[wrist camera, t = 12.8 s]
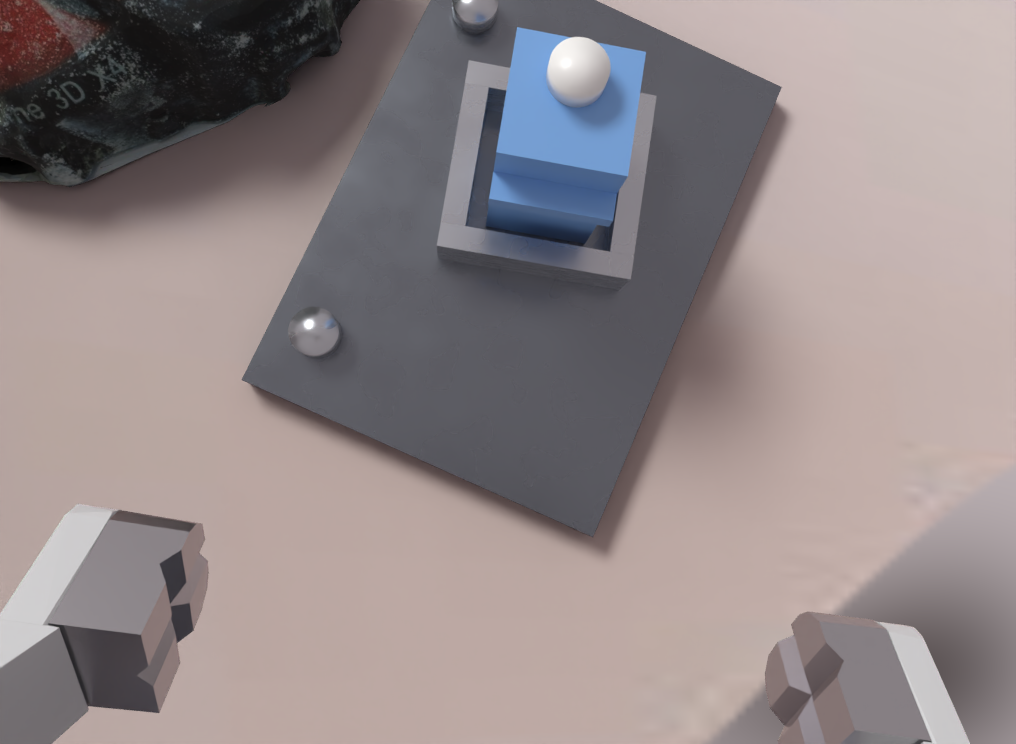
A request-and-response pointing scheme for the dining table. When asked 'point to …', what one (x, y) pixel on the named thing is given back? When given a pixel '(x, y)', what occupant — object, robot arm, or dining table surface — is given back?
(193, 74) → the drone shell
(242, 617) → the dining table surface
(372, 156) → the plate
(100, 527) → the robot arm
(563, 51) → the block
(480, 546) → the dining table surface
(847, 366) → the dining table surface
